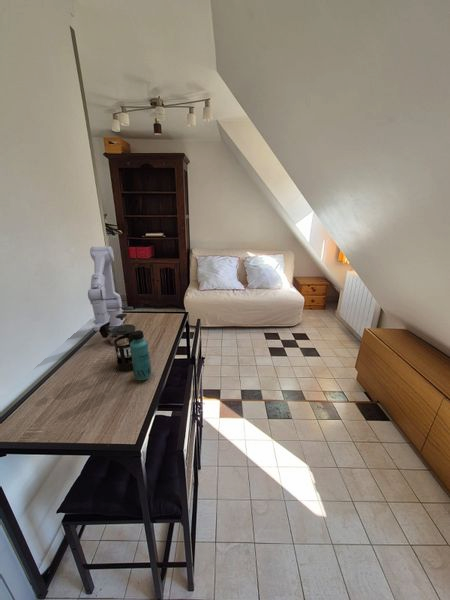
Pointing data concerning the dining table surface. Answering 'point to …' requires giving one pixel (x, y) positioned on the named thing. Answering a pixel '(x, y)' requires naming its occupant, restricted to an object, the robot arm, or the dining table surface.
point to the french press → (124, 350)
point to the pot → (112, 338)
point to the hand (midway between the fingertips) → (105, 337)
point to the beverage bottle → (140, 356)
